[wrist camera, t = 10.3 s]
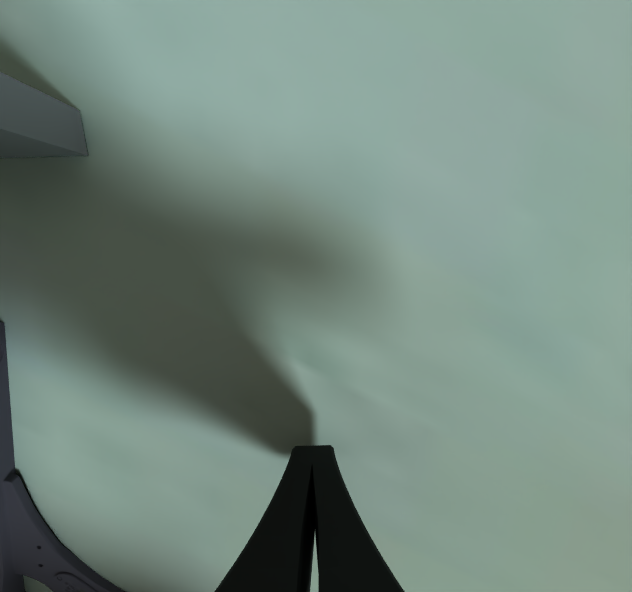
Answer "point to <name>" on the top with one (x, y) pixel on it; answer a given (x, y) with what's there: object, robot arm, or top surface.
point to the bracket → (31, 523)
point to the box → (37, 123)
